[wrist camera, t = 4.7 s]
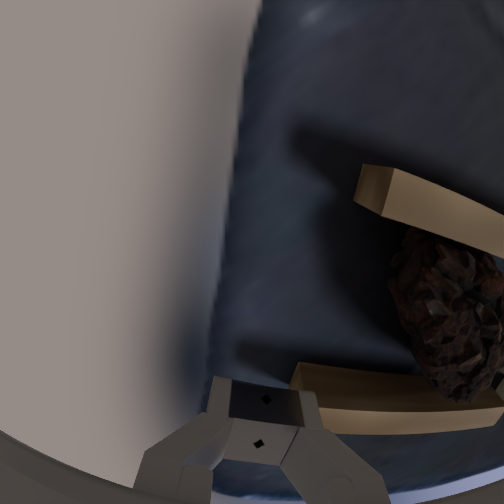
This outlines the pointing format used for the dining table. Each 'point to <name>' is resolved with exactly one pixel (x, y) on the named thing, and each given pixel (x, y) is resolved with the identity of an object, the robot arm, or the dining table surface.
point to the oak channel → (401, 385)
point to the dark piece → (450, 312)
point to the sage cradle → (501, 389)
